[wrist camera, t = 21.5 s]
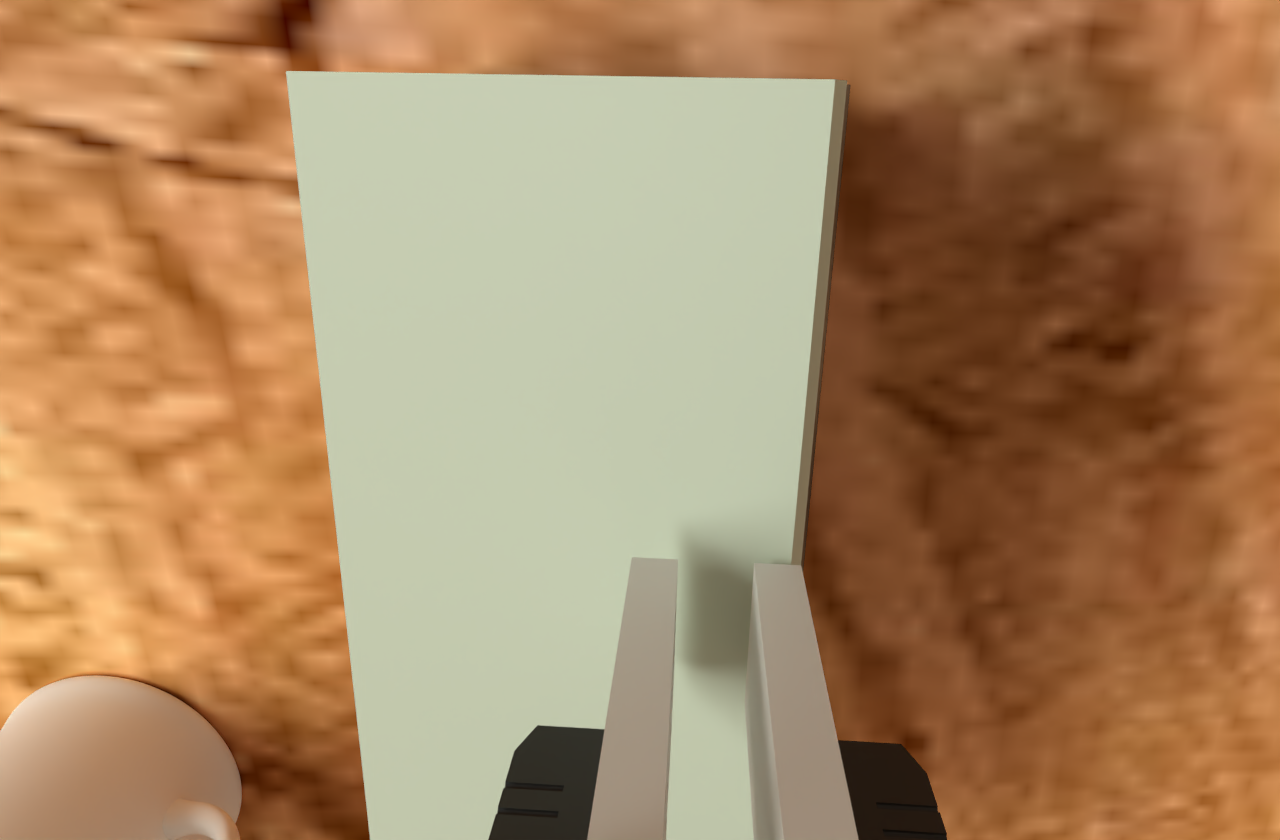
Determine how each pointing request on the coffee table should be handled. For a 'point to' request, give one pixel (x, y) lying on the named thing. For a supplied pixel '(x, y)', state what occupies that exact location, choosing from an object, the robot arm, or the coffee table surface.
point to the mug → (114, 766)
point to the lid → (559, 403)
